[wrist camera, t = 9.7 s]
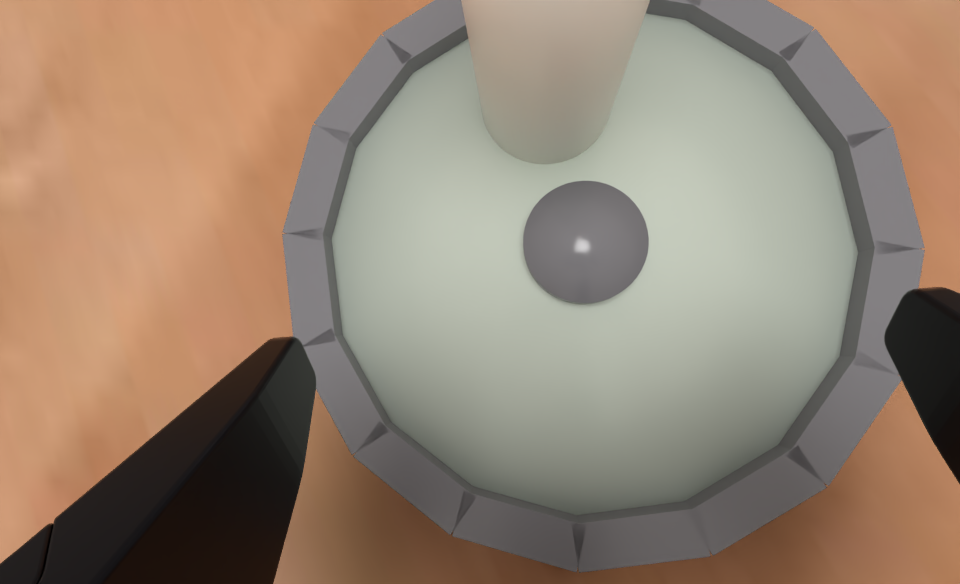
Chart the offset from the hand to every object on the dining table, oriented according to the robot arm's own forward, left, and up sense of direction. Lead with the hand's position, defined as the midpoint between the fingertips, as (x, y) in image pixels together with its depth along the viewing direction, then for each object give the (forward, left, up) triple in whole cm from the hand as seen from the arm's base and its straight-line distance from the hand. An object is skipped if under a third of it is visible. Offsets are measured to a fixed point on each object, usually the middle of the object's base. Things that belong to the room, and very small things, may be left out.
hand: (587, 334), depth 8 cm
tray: (+1, -3, -10) cm, 11 cm away
